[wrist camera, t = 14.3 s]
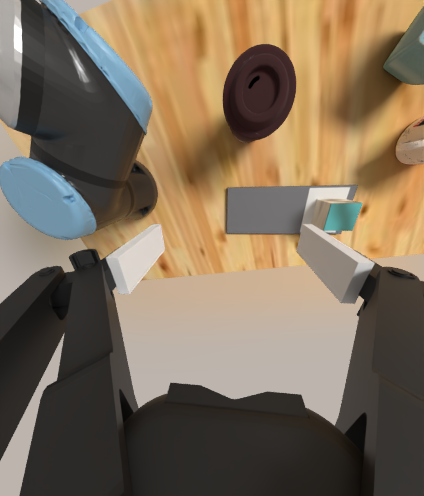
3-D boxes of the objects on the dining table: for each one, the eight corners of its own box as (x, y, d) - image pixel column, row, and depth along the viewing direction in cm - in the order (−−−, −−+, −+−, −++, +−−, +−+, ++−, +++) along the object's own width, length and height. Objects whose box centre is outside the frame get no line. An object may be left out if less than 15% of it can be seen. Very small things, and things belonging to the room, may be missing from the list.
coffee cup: (270, 146, 35) (296, 130, 22) (226, 152, 37) (225, 141, 23) (272, 87, 31) (307, 23, 18) (222, 96, 32) (219, 43, 19)
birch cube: (352, 230, 35) (335, 222, 40) (362, 203, 32) (343, 198, 38) (323, 230, 36) (311, 222, 41) (331, 203, 33) (317, 199, 38)
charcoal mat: (227, 232, 45) (227, 233, 44) (227, 187, 40) (227, 187, 39) (338, 232, 42) (340, 233, 42) (355, 184, 37) (358, 185, 36)
